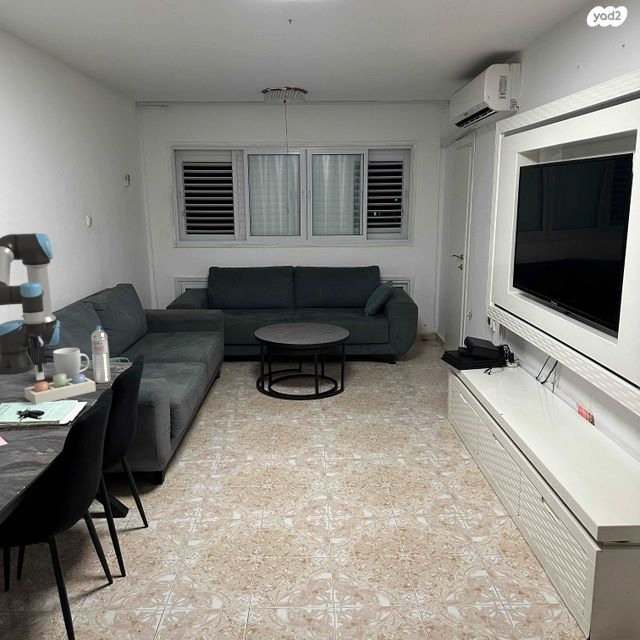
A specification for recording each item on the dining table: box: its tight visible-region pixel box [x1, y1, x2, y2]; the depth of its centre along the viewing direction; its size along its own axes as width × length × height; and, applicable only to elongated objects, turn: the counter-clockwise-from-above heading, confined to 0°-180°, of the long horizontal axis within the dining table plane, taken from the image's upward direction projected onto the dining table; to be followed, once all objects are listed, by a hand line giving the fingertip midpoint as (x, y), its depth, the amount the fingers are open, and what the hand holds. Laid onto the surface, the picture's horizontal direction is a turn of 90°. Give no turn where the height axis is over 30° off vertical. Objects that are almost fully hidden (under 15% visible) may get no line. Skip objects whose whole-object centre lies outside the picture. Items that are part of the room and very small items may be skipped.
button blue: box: [72, 373, 86, 384], centre depth 243 cm, size 5×5×5 cm
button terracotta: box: [33, 380, 48, 393], centre depth 232 cm, size 5×5×5 cm
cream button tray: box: [23, 376, 97, 405], centre depth 238 cm, size 12×24×4 cm, turn 135°
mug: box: [52, 347, 90, 380], centre depth 260 cm, size 15×11×13 cm
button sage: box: [52, 373, 67, 388], centre depth 237 cm, size 5×5×5 cm
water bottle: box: [90, 325, 111, 384], centre depth 253 cm, size 7×7×25 cm
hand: (40, 379), depth 232 cm, fingers closed
